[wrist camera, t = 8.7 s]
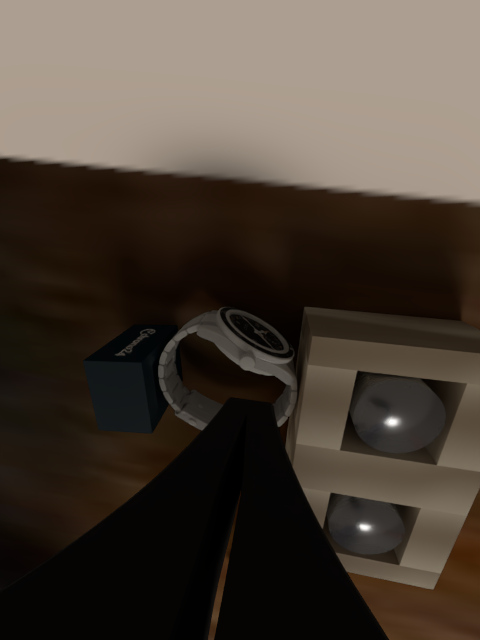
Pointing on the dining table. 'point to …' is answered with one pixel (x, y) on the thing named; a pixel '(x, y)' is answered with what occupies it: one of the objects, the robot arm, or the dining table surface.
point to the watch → (166, 373)
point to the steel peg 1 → (395, 412)
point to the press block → (377, 466)
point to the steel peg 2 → (364, 524)
